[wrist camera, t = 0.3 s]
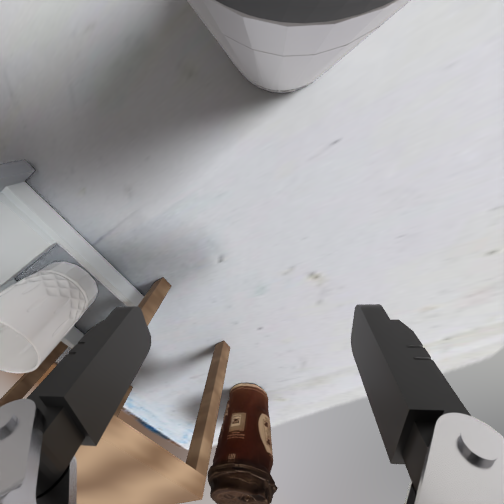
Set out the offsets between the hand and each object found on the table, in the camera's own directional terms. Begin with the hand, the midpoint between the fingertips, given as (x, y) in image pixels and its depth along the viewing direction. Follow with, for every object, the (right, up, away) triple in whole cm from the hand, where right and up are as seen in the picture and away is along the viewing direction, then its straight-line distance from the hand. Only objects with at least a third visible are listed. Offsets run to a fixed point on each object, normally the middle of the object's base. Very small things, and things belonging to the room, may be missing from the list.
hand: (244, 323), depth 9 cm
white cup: (-23, -1, +23) cm, 32 cm away
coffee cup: (0, -20, +31) cm, 37 cm away
